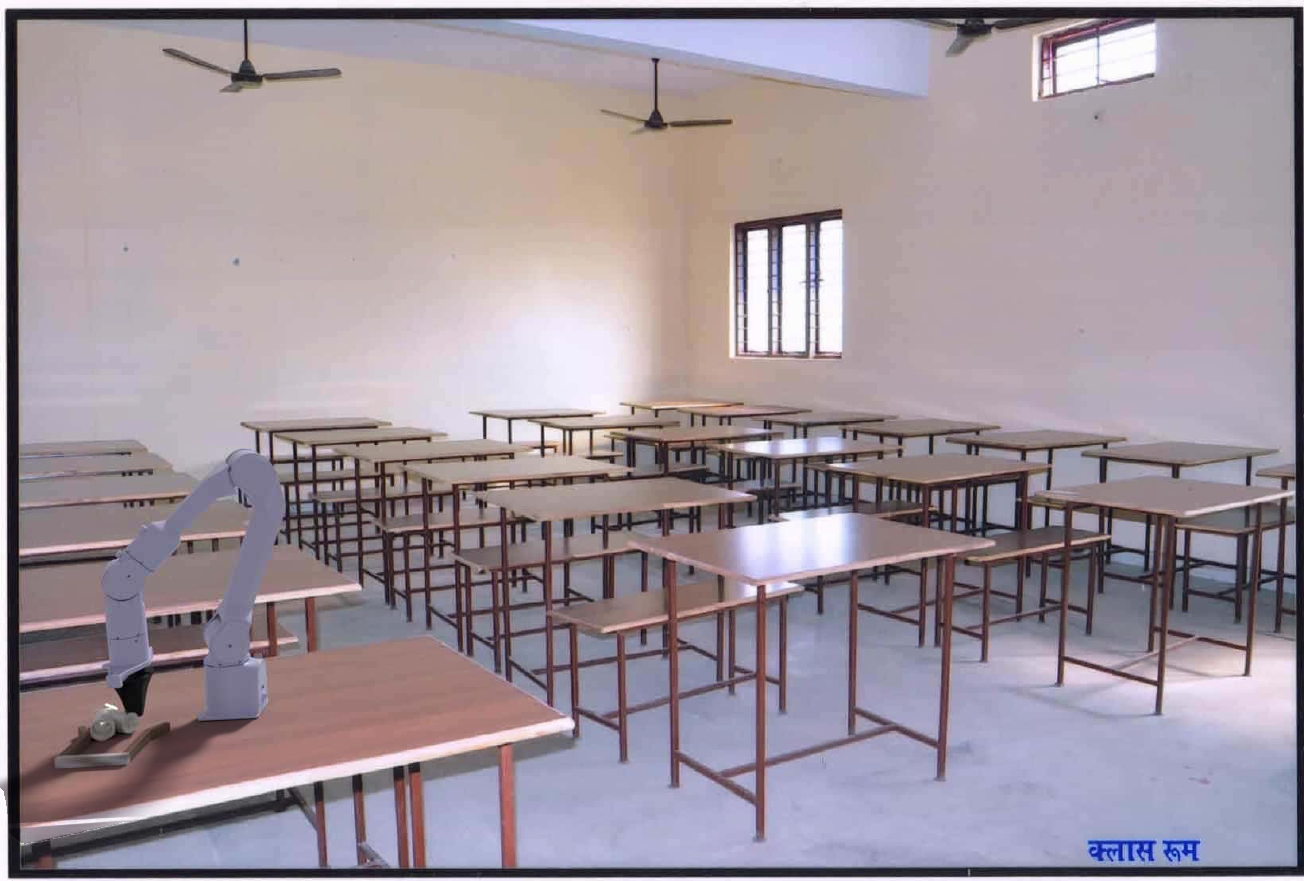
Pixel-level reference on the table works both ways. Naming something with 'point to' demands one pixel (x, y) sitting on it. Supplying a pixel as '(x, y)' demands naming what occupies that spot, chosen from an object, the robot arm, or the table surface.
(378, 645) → the table surface
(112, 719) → the pipe fitting
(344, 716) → the table surface
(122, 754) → the angular open frame
